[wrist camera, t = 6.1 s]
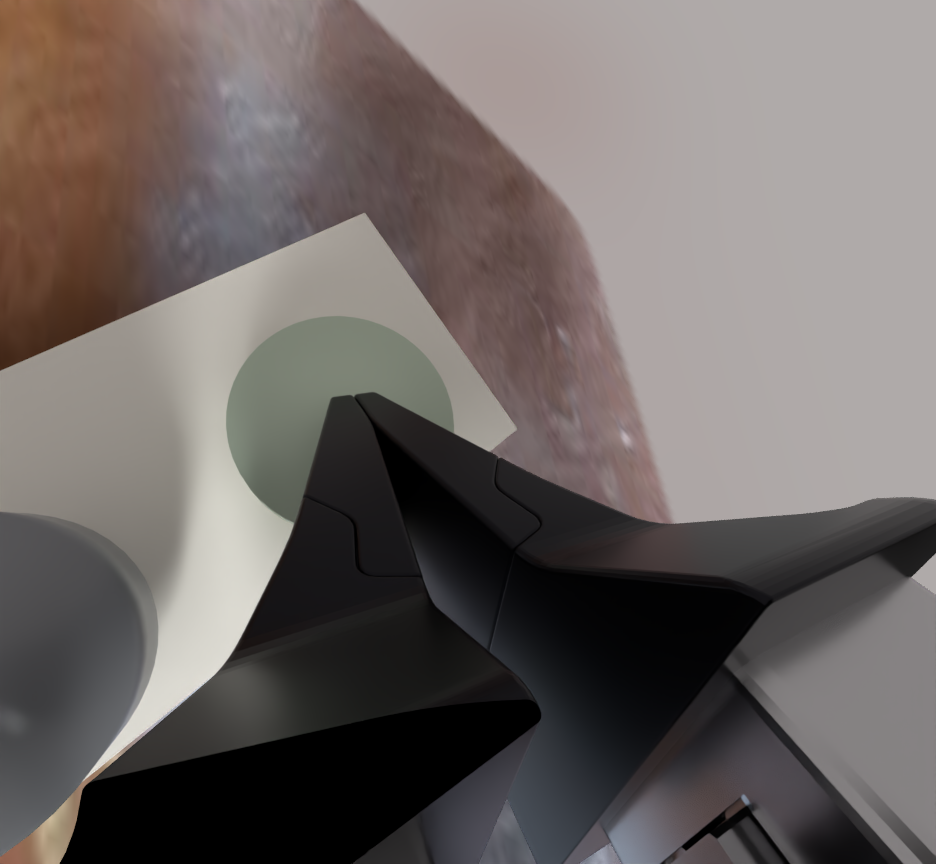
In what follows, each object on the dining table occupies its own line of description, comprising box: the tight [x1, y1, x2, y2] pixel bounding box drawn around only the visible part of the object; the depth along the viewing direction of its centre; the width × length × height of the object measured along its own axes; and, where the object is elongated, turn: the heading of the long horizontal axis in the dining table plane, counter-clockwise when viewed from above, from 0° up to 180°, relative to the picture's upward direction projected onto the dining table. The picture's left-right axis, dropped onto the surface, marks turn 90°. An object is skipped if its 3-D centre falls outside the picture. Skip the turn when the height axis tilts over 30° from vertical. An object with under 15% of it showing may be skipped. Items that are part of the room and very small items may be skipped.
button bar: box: [0, 213, 517, 781], centre depth 12 cm, size 7×20×8 cm, turn 128°
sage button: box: [226, 316, 454, 524], centre depth 10 cm, size 4×4×2 cm
